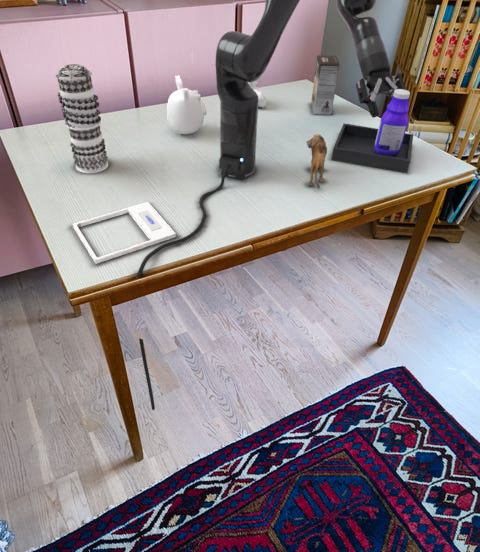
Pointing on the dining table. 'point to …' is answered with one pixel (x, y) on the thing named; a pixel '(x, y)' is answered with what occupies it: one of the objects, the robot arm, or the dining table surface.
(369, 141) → the shallow square tray
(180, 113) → the piggy bank
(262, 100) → the bust
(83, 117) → the decorative candle
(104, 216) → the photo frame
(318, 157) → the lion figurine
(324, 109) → the coffee box
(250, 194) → the dining table surface
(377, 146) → the bottle
